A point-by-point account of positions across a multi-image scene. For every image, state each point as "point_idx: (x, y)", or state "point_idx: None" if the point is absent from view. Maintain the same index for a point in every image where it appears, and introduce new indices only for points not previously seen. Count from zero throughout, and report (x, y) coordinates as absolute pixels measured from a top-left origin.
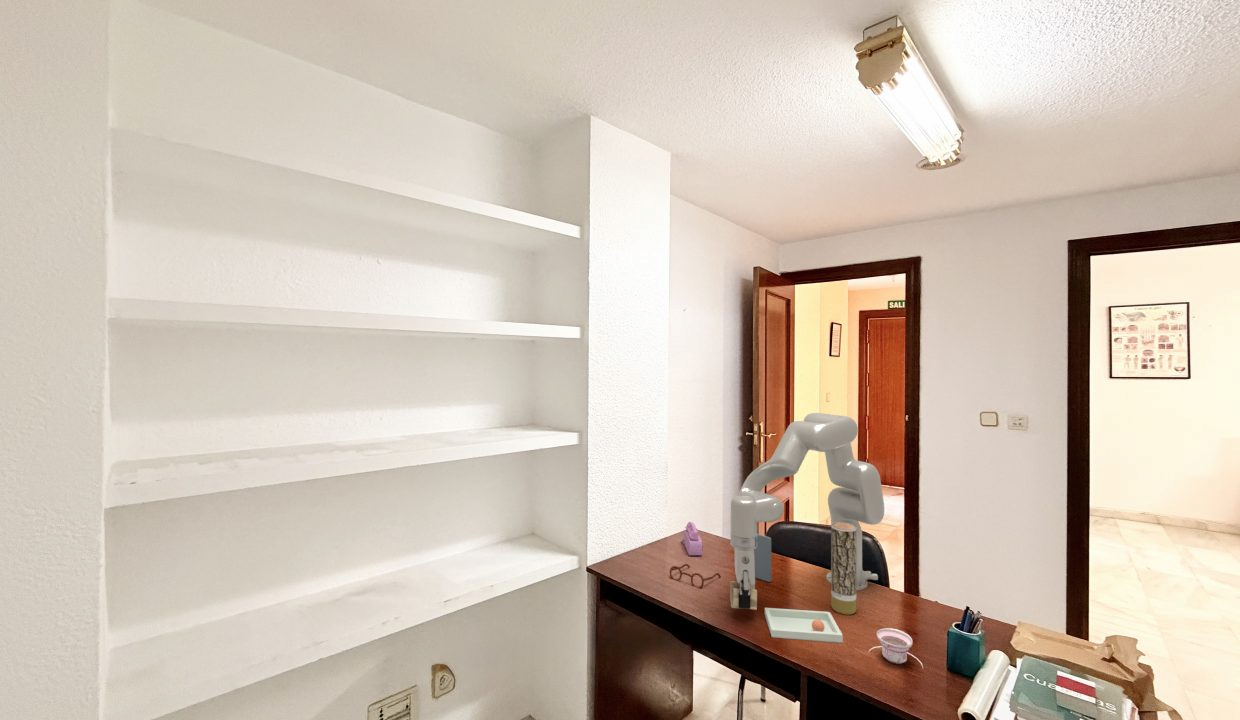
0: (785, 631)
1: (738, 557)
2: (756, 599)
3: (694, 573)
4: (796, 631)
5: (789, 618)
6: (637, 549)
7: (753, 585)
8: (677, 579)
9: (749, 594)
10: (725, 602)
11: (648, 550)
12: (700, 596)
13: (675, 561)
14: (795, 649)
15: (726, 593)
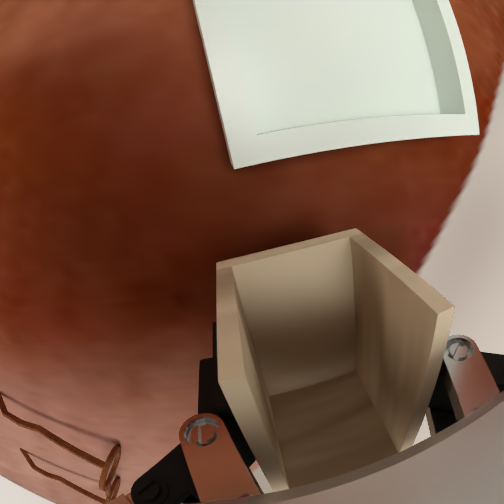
0: (466, 65)
1: None
2: (399, 263)
3: (104, 490)
4: (450, 13)
5: (232, 12)
6: (50, 500)
7: (249, 368)
8: (118, 482)
9: (471, 342)
10: (164, 376)
11: (36, 490)
12: (169, 441)
13: (28, 466)
14: (470, 49)
15: (80, 377)
